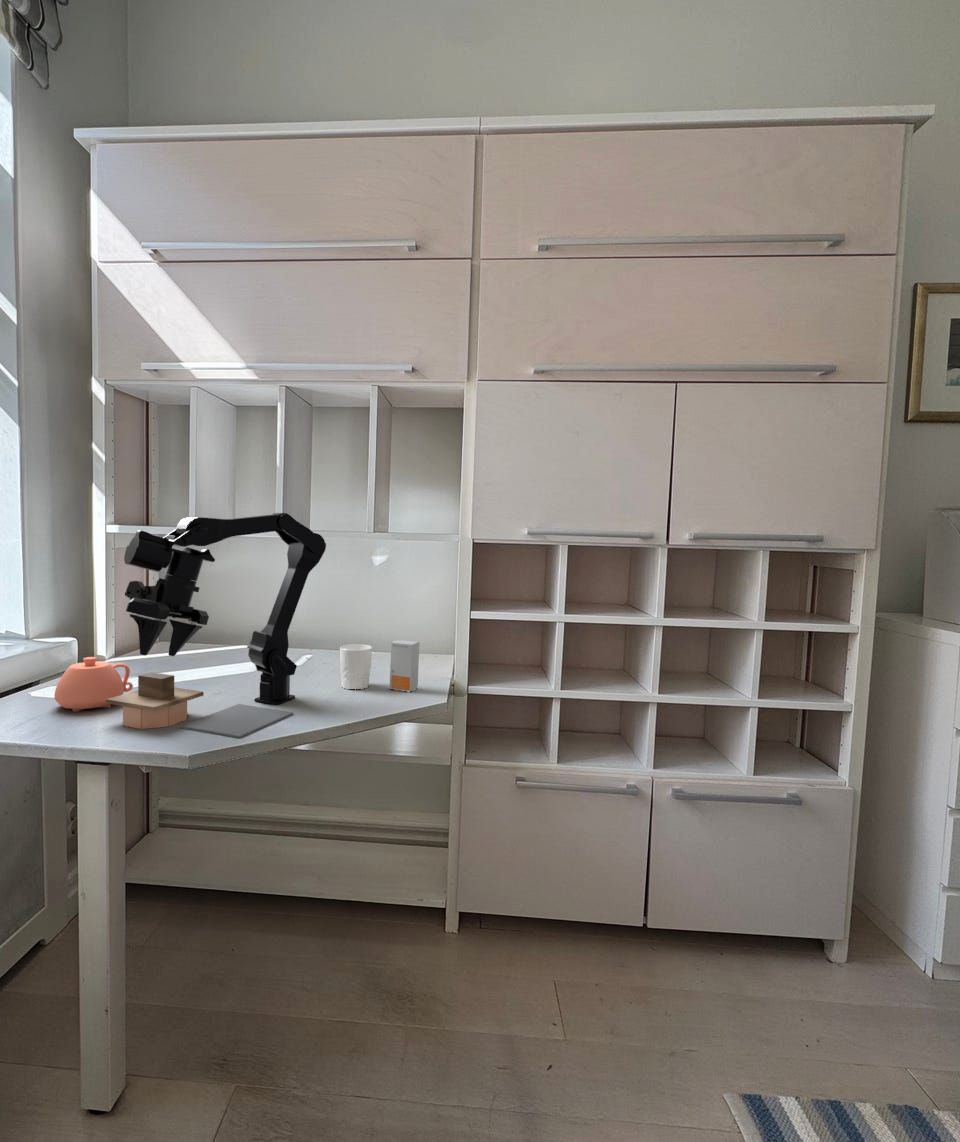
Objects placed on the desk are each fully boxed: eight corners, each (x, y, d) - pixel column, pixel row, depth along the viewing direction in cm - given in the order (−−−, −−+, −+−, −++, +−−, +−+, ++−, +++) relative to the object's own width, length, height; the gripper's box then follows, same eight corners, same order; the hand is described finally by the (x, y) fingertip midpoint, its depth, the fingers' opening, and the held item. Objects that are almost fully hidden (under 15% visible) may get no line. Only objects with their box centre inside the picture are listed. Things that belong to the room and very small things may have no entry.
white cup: (373, 683, 151) (374, 644, 150) (368, 691, 143) (369, 650, 143) (342, 682, 151) (343, 643, 150) (335, 690, 143) (336, 649, 142)
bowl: (157, 708, 124) (158, 689, 124) (199, 715, 120) (199, 695, 120) (110, 723, 113) (110, 702, 113) (154, 731, 110) (154, 710, 110)
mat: (238, 705, 128) (238, 703, 128) (293, 714, 123) (293, 712, 123) (179, 727, 113) (179, 725, 112) (239, 738, 108) (239, 736, 108)
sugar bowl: (51, 702, 125) (51, 655, 124) (127, 693, 134) (127, 649, 133) (57, 717, 116) (57, 666, 115) (138, 706, 125) (138, 659, 124)
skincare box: (388, 690, 145) (390, 642, 144) (396, 686, 149) (397, 639, 148) (411, 693, 143) (413, 644, 142) (418, 688, 147) (420, 641, 146)
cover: (158, 688, 124) (158, 666, 124) (203, 695, 120) (203, 672, 120) (106, 703, 113) (105, 678, 113) (154, 711, 109) (154, 686, 109)
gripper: (170, 576, 126) (148, 647, 124) (112, 561, 108) (85, 644, 106) (219, 587, 125) (197, 659, 123) (168, 574, 107) (142, 658, 105)
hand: (157, 655), depth 114 cm, fingers open, 9 cm apart
